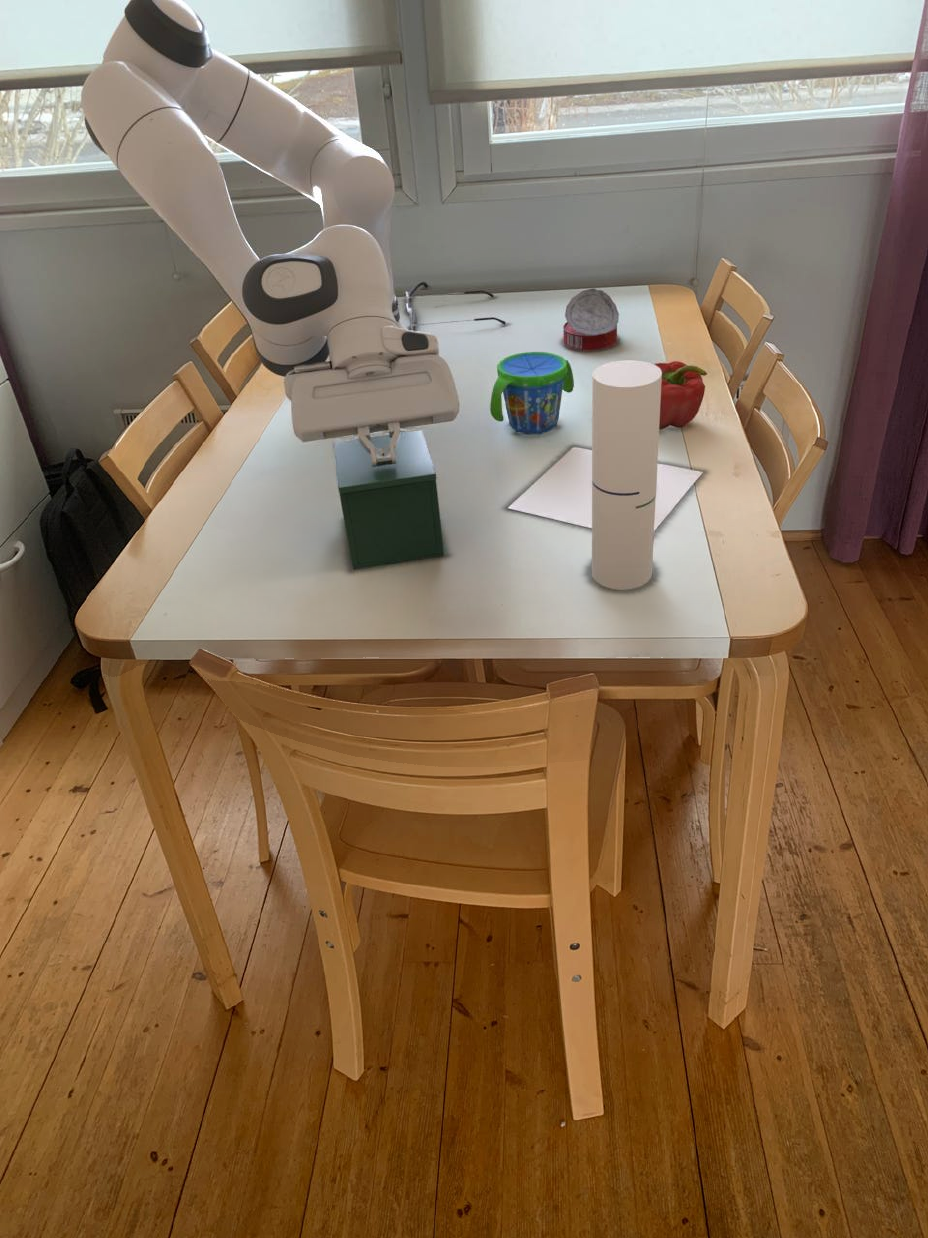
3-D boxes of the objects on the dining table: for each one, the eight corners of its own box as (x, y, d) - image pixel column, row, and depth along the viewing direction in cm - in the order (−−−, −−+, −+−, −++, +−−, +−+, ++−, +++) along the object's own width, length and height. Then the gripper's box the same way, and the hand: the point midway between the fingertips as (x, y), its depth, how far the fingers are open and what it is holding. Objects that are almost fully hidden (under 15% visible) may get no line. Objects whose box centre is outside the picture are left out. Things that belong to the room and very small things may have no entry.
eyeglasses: (405, 306, 198) (403, 287, 196) (493, 299, 199) (492, 280, 197) (410, 335, 183) (408, 315, 181) (505, 327, 185) (505, 307, 182)
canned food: (613, 358, 178) (639, 314, 171) (590, 372, 171) (616, 326, 164) (567, 324, 180) (591, 278, 173) (542, 336, 173) (566, 289, 166)
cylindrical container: (586, 559, 115) (586, 364, 100) (643, 553, 115) (652, 357, 100) (598, 592, 109) (600, 390, 94) (658, 585, 109) (669, 382, 95)
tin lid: (436, 479, 111) (435, 473, 111) (339, 494, 110) (338, 487, 110) (422, 435, 122) (422, 429, 121) (334, 447, 121) (333, 442, 120)
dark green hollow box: (444, 555, 118) (436, 480, 112) (352, 570, 117) (339, 494, 111) (430, 507, 128) (422, 435, 122) (346, 520, 127) (334, 448, 121)
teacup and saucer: (638, 505, 124) (639, 478, 122) (584, 493, 128) (584, 466, 126) (664, 476, 130) (665, 450, 128) (611, 466, 134) (612, 439, 132)
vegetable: (719, 420, 143) (725, 357, 137) (682, 445, 137) (686, 380, 132) (658, 404, 150) (661, 342, 144) (620, 427, 144) (622, 364, 138)
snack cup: (552, 401, 153) (551, 340, 147) (594, 422, 146) (594, 359, 140) (473, 429, 147) (469, 367, 141) (513, 452, 140) (510, 388, 134)
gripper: (278, 356, 110) (294, 468, 108) (448, 333, 112) (468, 443, 110) (284, 378, 117) (300, 484, 115) (446, 356, 118) (465, 460, 116)
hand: (384, 464), depth 112 cm, fingers closed
